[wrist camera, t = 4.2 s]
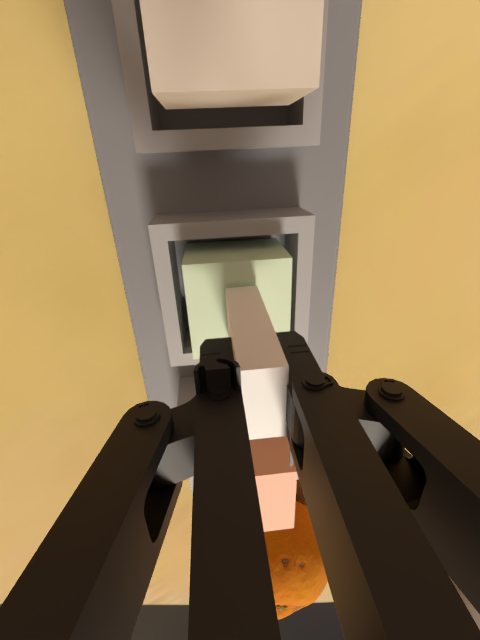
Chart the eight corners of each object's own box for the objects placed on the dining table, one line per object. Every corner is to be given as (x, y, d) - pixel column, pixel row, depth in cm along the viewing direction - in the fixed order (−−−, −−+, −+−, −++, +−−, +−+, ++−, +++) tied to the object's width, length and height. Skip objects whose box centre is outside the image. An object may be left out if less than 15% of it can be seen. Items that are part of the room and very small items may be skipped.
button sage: (195, 323, 20) (193, 359, 17) (185, 243, 18) (181, 265, 15) (274, 317, 21) (289, 351, 17) (275, 237, 18) (292, 257, 15)
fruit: (267, 553, 36) (283, 652, 29) (189, 522, 32) (185, 626, 25) (337, 501, 33) (373, 596, 26) (259, 459, 29) (277, 557, 22)
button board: (165, 461, 28) (159, 508, 24) (49, -107, 13) (-12, -210, 10) (313, 446, 29) (330, 489, 25) (361, -105, 14) (417, -197, 10)
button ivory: (165, 109, 13) (151, 92, 10) (144, -69, 11) (116, -177, 7) (288, 105, 14) (318, 87, 10) (292, -69, 11) (334, -172, 8)
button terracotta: (210, 479, 23) (211, 538, 20) (203, 426, 21) (203, 481, 17) (280, 471, 23) (293, 528, 20) (281, 418, 21) (297, 471, 18)
